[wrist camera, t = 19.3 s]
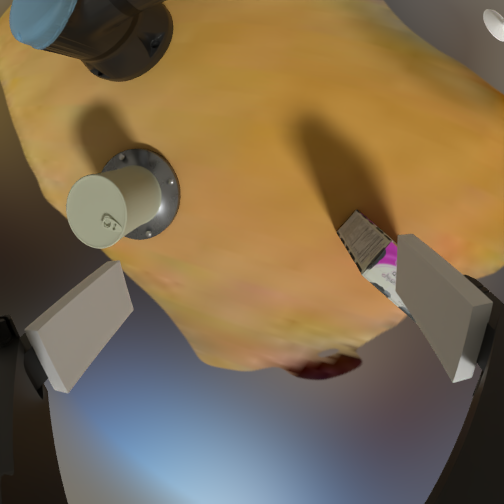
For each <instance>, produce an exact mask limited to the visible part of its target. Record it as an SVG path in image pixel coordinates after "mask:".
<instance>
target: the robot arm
mask: <svg viewBox="0 0 504 504" xmlns="http://www.w3.org/2000/svg"><path fill="white" fill-rule="evenodd" d="M164 1H166V0H13V3H12V6H11V11H10V29H11V32H12V34H13V36H14V37H15V38H16V39H17V40H18V41H19V42H22V43H24V44H27V45H30V46H32V47H33V48H35V49H41V50H45V51H49V52H54V53H58V54H62V55H66V56H69V57H73V58H77V59H80V60H81V61H82V62H83V63H84V64H85V66H86V67H87V68H88V69H89V70H90V71H91V72H92V73H93V74H94V75H96V76H98V77H100V78H102V79H106V80H110V81H116V82H120V81H127V80H131V79H134V78H136V77H139V76H141V75H142V74H144V73H146V72H147V71H149V70H150V69H151V68H152V67H153V66H155V65H156V64H157V63H158V61H159V60H160V59H161V58H162V57H163V55H164V54H165V52H166V50H167V49H168V47H169V44H170V42H171V39H172V34H173V21H172V17H171V14H170V12H169V11H168V10H167V8H166V7H165V6H164V5H163V4H162V2H164ZM395 291H396V293H397V294H398V296H399V297H400V298H401V300H402V301H403V303H404V304H405V306H406V307H407V309H408V310H409V312H410V314H411V315H412V317H413V318H414V320H415V321H416V323H417V324H418V326H419V327H420V329H421V331H422V332H423V334H424V335H425V337H426V339H427V340H428V342H429V343H430V345H431V347H432V348H433V350H434V351H435V353H436V355H437V357H438V358H439V360H440V362H441V363H442V365H443V367H444V368H445V370H446V372H447V374H448V375H449V377H450V379H451V381H452V382H453V383H454V382H458V381H461V380H465V379H468V378H472V376H473V373H474V369H475V367H476V363H478V365H479V366H480V368H481V369H482V372H481V375H480V378H479V380H478V383H477V386H476V388H475V391H474V393H473V399H472V402H471V405H470V408H469V411H468V413H467V416H466V419H465V421H464V424H463V427H462V429H461V432H460V434H459V436H458V439H457V441H456V443H455V446H454V448H453V450H452V452H451V455H450V457H449V459H448V461H447V463H446V465H445V467H444V469H443V471H442V473H441V475H440V477H439V479H438V481H437V483H436V484H435V486H434V488H433V490H432V492H431V493H430V495H429V497H428V499H427V500H426V502H425V504H504V304H503V303H502V302H501V301H500V300H499V299H498V298H497V297H496V296H494V295H493V294H492V293H491V292H489V290H488V289H487V288H485V287H483V285H482V284H481V283H480V282H479V281H477V280H476V279H474V278H472V277H470V276H468V275H462V274H461V273H460V272H459V271H458V270H457V269H455V268H454V267H453V266H452V265H451V264H449V263H448V262H447V261H446V260H445V259H443V258H442V257H441V256H440V255H439V254H437V253H436V252H435V251H434V250H432V249H431V248H430V247H429V246H428V245H426V244H425V243H424V242H422V241H421V240H420V239H419V238H417V237H416V236H415V235H414V234H405V235H398V242H397V271H396V288H395ZM132 311H133V306H132V303H131V300H130V296H129V293H128V290H127V286H126V282H125V279H124V275H123V271H122V268H121V264H120V261H110V262H106V263H105V264H104V265H102V266H101V267H100V268H98V269H97V270H96V271H95V272H93V273H92V274H91V275H89V276H88V277H87V278H86V279H84V280H83V281H82V282H81V283H79V284H78V285H77V286H76V287H74V288H73V289H72V290H71V291H69V292H68V293H67V294H66V295H64V296H63V297H62V298H61V299H60V300H58V301H57V302H56V303H55V304H53V305H52V306H51V307H50V308H49V309H48V310H46V311H45V312H44V313H43V314H42V315H41V316H40V317H38V318H37V319H36V320H35V321H34V322H32V323H31V324H30V325H29V326H28V327H27V328H25V329H24V330H25V333H24V334H23V336H21V337H20V336H19V334H18V332H17V329H16V327H15V325H14V323H13V320H12V318H11V316H10V315H2V316H0V504H68V502H67V498H66V495H65V491H64V487H63V483H62V479H61V475H60V471H59V465H58V461H57V456H56V450H55V445H54V438H53V432H52V426H51V419H50V410H49V401H48V391H47V389H46V387H45V385H44V382H45V381H46V380H47V379H49V381H50V383H51V385H52V386H53V388H54V390H56V391H60V392H65V393H69V392H70V390H71V389H72V388H73V386H74V385H75V384H76V382H77V381H78V379H79V378H80V377H81V376H82V374H83V373H84V372H85V370H86V369H87V368H88V367H89V365H90V364H91V363H92V361H93V360H94V359H95V357H96V356H97V355H98V354H99V352H100V351H101V350H102V349H103V347H104V346H105V345H106V343H107V342H108V341H109V339H110V338H111V337H112V336H113V334H114V333H115V332H116V331H117V330H118V328H119V327H120V326H121V325H122V323H123V322H124V321H125V319H126V318H127V317H128V316H129V315H130V314H131V312H132Z"/></svg>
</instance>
